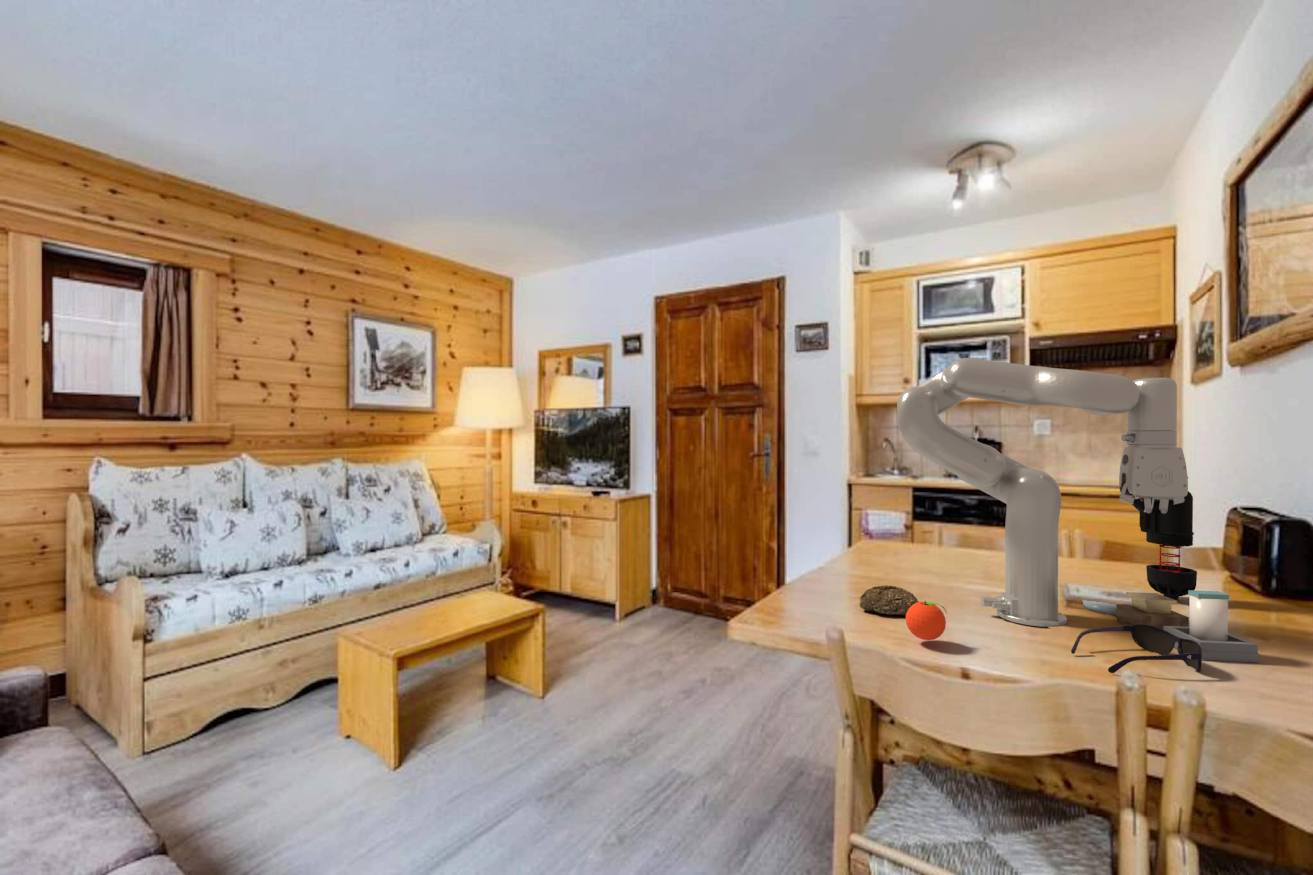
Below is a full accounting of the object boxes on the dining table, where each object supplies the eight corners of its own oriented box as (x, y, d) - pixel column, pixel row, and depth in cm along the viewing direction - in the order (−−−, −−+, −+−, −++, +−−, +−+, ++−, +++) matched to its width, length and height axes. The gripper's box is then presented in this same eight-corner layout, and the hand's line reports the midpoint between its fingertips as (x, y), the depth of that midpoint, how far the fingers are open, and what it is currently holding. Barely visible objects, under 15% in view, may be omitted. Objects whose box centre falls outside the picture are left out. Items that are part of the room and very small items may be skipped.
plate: (1099, 614, 127) (1099, 609, 127) (1073, 601, 137) (1073, 596, 137) (1150, 616, 126) (1150, 611, 126) (1120, 603, 136) (1120, 598, 136)
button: (1145, 616, 116) (1145, 599, 116) (1126, 608, 121) (1126, 592, 121) (1177, 617, 115) (1177, 600, 115) (1156, 609, 121) (1156, 593, 121)
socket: (1199, 659, 101) (1199, 642, 101) (1162, 641, 110) (1162, 625, 110) (1258, 662, 100) (1259, 644, 100) (1216, 643, 109) (1216, 627, 109)
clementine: (935, 631, 116) (935, 595, 116) (959, 644, 109) (959, 605, 109) (898, 634, 115) (898, 597, 115) (919, 646, 108) (920, 607, 108)
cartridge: (1203, 647, 103) (1203, 595, 103) (1182, 637, 108) (1182, 588, 108) (1235, 648, 103) (1236, 596, 102) (1212, 639, 107) (1212, 589, 107)
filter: (1210, 609, 131) (1210, 473, 131) (1161, 606, 133) (1161, 473, 133) (1173, 593, 144) (1173, 470, 144) (1129, 591, 146) (1129, 469, 146)
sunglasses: (1218, 678, 95) (1218, 646, 95) (1124, 680, 94) (1124, 648, 94) (1143, 648, 108) (1143, 620, 108) (1060, 649, 107) (1060, 622, 107)
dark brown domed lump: (911, 601, 138) (911, 580, 138) (926, 617, 126) (926, 594, 126) (854, 598, 141) (854, 577, 141) (863, 614, 128) (863, 591, 128)
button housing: (1142, 633, 115) (1142, 615, 115) (1116, 620, 123) (1116, 603, 123) (1188, 635, 114) (1188, 617, 114) (1159, 622, 122) (1159, 605, 122)
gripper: (1122, 440, 116) (1121, 534, 116) (1209, 440, 114) (1208, 536, 114) (1098, 440, 123) (1098, 528, 123) (1179, 440, 121) (1179, 530, 121)
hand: (1151, 532), depth 118 cm, fingers closed
